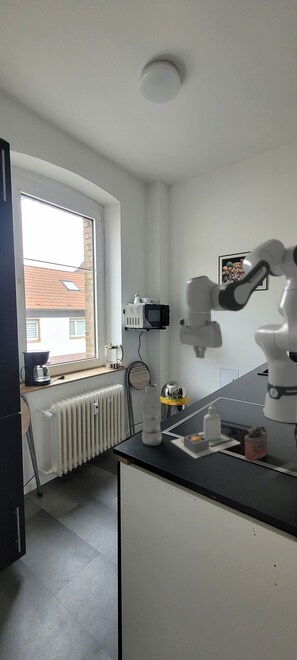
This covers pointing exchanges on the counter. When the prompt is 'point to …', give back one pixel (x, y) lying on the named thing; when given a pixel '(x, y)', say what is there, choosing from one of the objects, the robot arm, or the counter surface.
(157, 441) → the plastic bottle
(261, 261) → the robot arm
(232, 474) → the counter surface
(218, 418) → the eye dropper bottle
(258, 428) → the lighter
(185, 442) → the white rectangular tray
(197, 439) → the button
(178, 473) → the counter surface
